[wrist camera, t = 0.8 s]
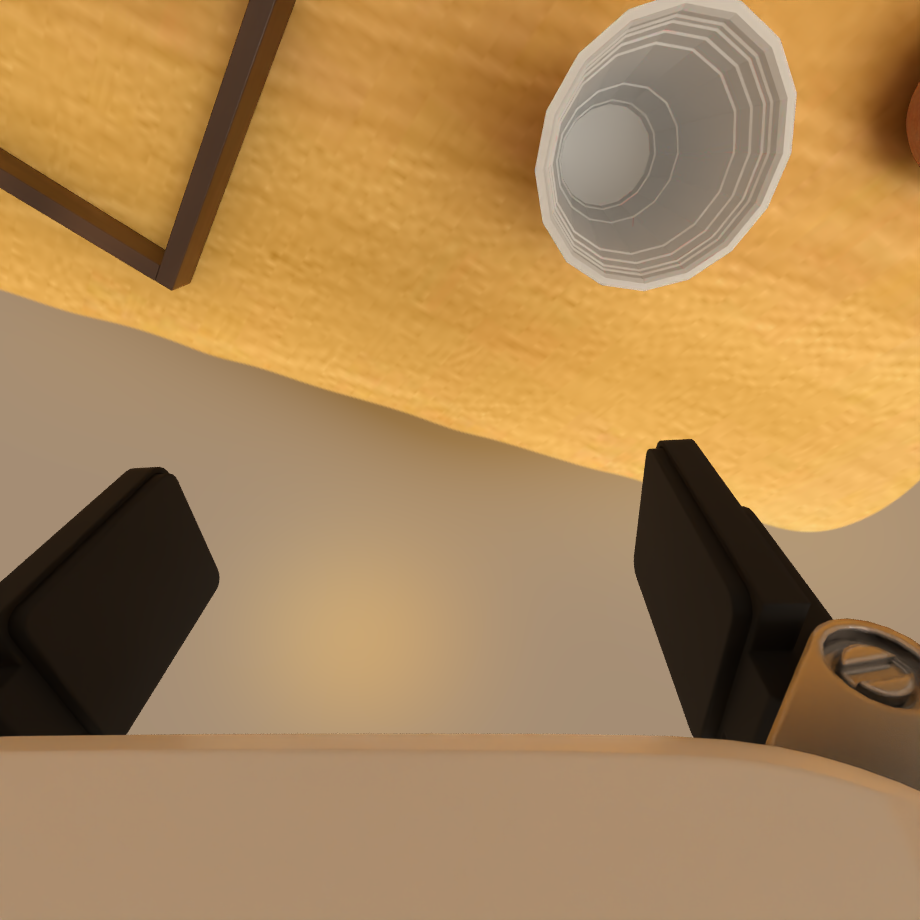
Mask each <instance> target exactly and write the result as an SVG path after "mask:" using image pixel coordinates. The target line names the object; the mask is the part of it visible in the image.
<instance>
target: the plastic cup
mask: <svg viewBox="0 0 920 920" xmlns="http://www.w3.org/2000/svg"><path fill="white" fill-rule="evenodd" d="M796 96H797V93H796V89H795V86H794V83H793V79H792V76H791V73H790V69H789V66H788V63H787V60H786V56H785V53H784V50H783V46H782V43H781V40H780V38H779V37H778V36H777V35H776V34H775V33H774V32H773V31H772V30H771V29H770V28H769V27H768V26H767V25H766V24H765V23H764V22H763V21H761V20H760V19H759V18H758V17H757V16H756V15H755V14H754V13H753V12H752V11H751V10H750V9H749V8H748V7H747V6H746V5H745V4H744V3H743V2H742V1H739V0H656V1H652V2H649V3H646V4H643V5H640V6H637V7H634V8H631V9H628V10H627V11H626V12H625V13H624V14H623V15H622V16H620V17H619V18H618V19H617V20H616V21H615V22H614V23H612V24H611V25H610V26H609V27H608V28H607V29H606V30H605V31H603V32H602V33H601V34H600V35H599V36H598V37H597V38H595V39H594V40H593V41H592V42H591V43H590V44H589V45H587V46H586V47H585V48H584V49H583V50H582V51H581V52H579V53H578V55H577V57H576V59H575V61H574V62H573V64H572V66H571V68H570V70H569V71H568V73H567V75H566V77H565V78H564V80H563V82H562V84H561V86H560V87H559V89H558V91H557V93H556V94H555V96H554V98H553V100H552V102H551V103H550V105H549V107H548V109H547V110H546V115H545V120H544V125H543V130H542V136H541V141H540V146H539V151H538V156H537V161H536V167H535V175H536V182H537V189H538V195H539V202H540V208H541V215H542V221H543V224H544V226H545V227H546V229H547V231H548V232H549V234H550V236H551V237H552V239H553V240H554V242H555V244H556V245H557V247H558V249H559V250H560V252H561V254H562V255H563V257H564V259H565V260H566V262H567V263H569V264H570V265H572V266H573V267H575V268H577V269H578V270H580V271H581V272H583V273H584V274H586V275H587V276H589V277H590V278H592V279H593V280H595V281H596V282H598V283H599V284H601V285H605V286H612V287H619V288H626V289H633V290H640V291H646V290H650V289H654V288H658V287H661V286H665V285H669V284H673V283H677V282H681V281H685V280H689V279H690V278H692V277H693V276H695V275H696V274H698V273H699V272H701V271H702V270H704V269H705V268H707V267H708V266H710V265H711V264H713V263H714V262H716V261H717V260H719V259H720V258H722V257H723V256H725V255H727V254H728V253H730V252H731V251H732V250H733V249H734V247H735V246H736V245H737V244H738V243H739V241H740V240H741V239H742V238H743V237H744V235H745V234H746V233H747V232H748V231H749V229H750V228H751V227H752V226H753V225H754V223H755V222H756V221H757V220H758V219H759V217H760V216H761V215H762V214H763V213H764V211H765V210H766V209H767V208H768V205H769V203H770V201H771V198H772V196H773V194H774V192H775V189H776V187H777V185H778V182H779V180H780V178H781V175H782V173H783V171H784V169H785V166H786V164H787V162H788V159H789V157H790V155H791V149H792V139H793V128H794V118H795V107H796Z"/></svg>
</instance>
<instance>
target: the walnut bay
mask: <svg viewBox="0 0 920 920" xmlns="http://www.w3.org/2000/svg"><path fill="white" fill-rule="evenodd" d="M295 1H296V0H249V3H248V6H247V9H246V12H245V15H244V18H243V21H242V24H241V27H240V30H239V33H238V36H237V39H236V42H235V45H234V48H233V51H232V54H231V57H230V60H229V63H228V66H227V69H226V72H225V75H224V78H223V81H222V84H221V87H220V90H219V93H218V96H217V98H216V101H215V104H214V107H213V110H212V113H211V116H210V119H209V122H208V125H207V128H206V131H205V134H204V137H203V140H202V143H201V146H200V149H199V152H198V155H197V158H196V161H195V164H194V167H193V170H192V173H191V176H190V179H189V182H188V185H187V188H186V191H185V194H184V197H183V200H182V203H181V206H180V208H179V211H178V214H177V217H176V220H175V223H174V226H173V229H172V232H171V235H170V238H169V241H168V244H167V247H166V250H164V249H162V248H161V247H159V246H157V245H156V244H154V243H152V242H151V241H149V240H148V239H146V238H144V237H143V236H141V235H140V234H138V233H136V232H135V231H133V230H131V229H130V228H128V227H127V226H125V225H123V224H122V223H120V222H119V221H117V220H115V219H114V218H112V217H111V216H109V215H107V214H106V213H104V212H102V211H101V210H99V209H98V208H96V207H94V206H93V205H91V204H90V203H88V202H86V201H85V200H83V199H81V198H80V197H78V196H77V195H75V194H73V193H72V192H70V191H69V190H67V189H65V188H64V187H62V186H61V185H59V184H57V183H56V182H54V181H52V180H51V179H49V178H48V177H46V176H44V175H43V174H41V173H40V172H38V171H36V170H35V169H33V168H31V167H30V166H28V165H27V164H25V163H23V162H22V161H20V160H19V159H17V158H15V157H14V156H12V155H11V154H9V153H7V152H6V151H4V150H2V149H1V148H0V188H1V189H3V190H5V191H6V192H8V193H10V194H11V195H13V196H15V197H16V198H18V199H20V200H21V201H23V202H25V203H26V204H28V205H30V206H31V207H33V208H35V209H36V210H38V211H40V212H41V213H43V214H45V215H46V216H48V217H50V218H51V219H53V220H55V221H56V222H58V223H60V224H61V225H63V226H65V227H66V228H68V229H70V230H71V231H73V232H75V233H76V234H78V235H80V236H81V237H83V238H85V239H86V240H88V241H90V242H91V243H93V244H95V245H96V246H98V247H100V248H101V249H103V250H105V251H106V252H108V253H110V254H111V255H113V256H115V257H116V258H118V259H120V260H121V261H123V262H125V263H126V264H128V265H130V266H131V267H133V268H135V269H136V270H138V271H140V272H141V273H143V274H144V275H146V276H148V277H149V278H151V279H153V280H155V281H156V282H158V283H160V284H161V285H163V286H165V287H166V288H168V289H170V290H175V289H177V288H179V287H182V286H184V285H186V284H189V283H190V282H191V279H192V276H193V274H194V271H195V268H196V266H197V263H198V260H199V258H200V255H201V252H202V250H203V247H204V244H205V242H206V239H207V236H208V234H209V231H210V228H211V225H212V223H213V220H214V217H215V215H216V212H217V209H218V207H219V204H220V201H221V199H222V196H223V193H224V191H225V188H226V185H227V183H228V180H229V177H230V175H231V172H232V169H233V167H234V164H235V161H236V159H237V156H238V153H239V151H240V148H241V145H242V142H243V140H244V137H245V134H246V132H247V129H248V126H249V124H250V121H251V118H252V116H253V113H254V110H255V108H256V105H257V102H258V100H259V97H260V94H261V92H262V89H263V86H264V84H265V81H266V78H267V76H268V73H269V70H270V68H271V65H272V62H273V59H274V57H275V54H276V51H277V49H278V46H279V43H280V41H281V38H282V35H283V33H284V30H285V27H286V25H287V22H288V19H289V17H290V14H291V11H292V9H293V6H294V3H295Z"/></svg>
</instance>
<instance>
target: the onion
mask: <svg viewBox="0 0 920 920" xmlns="http://www.w3.org/2000/svg"><path fill="white" fill-rule="evenodd" d="M906 130H907V137H908V142H909V146H910V149H911V152H912V154H913V157H914V159H915V160H916V162H917V163H918V165H919V167H920V81H919V83H918V85H917V87H916V89H915V91H914V93H913V95H912V98H911V101H910V104H909V108H908V112H907V117H906Z"/></svg>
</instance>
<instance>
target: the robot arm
mask: <svg viewBox="0 0 920 920" xmlns="http://www.w3.org/2000/svg"><path fill="white" fill-rule="evenodd" d="M634 568H635V574H636V577H637V580H638V583H639V586H640V589H641V591H642V594H643V597H644V600H645V603H646V606H647V609H648V611H649V614H650V617H651V620H652V623H653V625H654V628H655V631H656V634H657V637H658V640H659V643H660V646H661V648H662V651H663V654H664V657H665V660H666V663H667V666H668V668H669V671H670V674H671V677H672V680H673V683H674V685H675V688H676V691H677V694H678V697H679V700H680V702H681V705H682V708H683V711H684V714H685V717H686V720H687V722H688V725H689V728H690V731H691V733H692V735H693V737H694V738H691V737H675V736H674V737H673V736H644V735H588V734H587V735H586V734H585V735H584V734H186V735H185V734H182V735H181V734H178V735H177V734H175V735H174V734H173V735H126V734H127V733H128V731H129V730H130V728H131V726H132V725H133V723H134V721H135V720H136V718H137V717H138V715H139V713H140V712H141V710H142V709H143V707H144V705H145V704H146V702H147V701H148V699H149V697H150V696H151V694H152V692H153V691H154V689H155V688H156V686H157V684H158V683H159V681H160V680H161V678H162V676H163V675H164V673H165V672H166V670H167V668H168V667H169V665H170V664H171V662H172V660H173V659H174V657H175V655H176V654H177V652H178V650H179V649H180V647H181V646H182V644H183V643H184V641H185V639H186V638H187V636H188V634H189V633H190V631H191V630H192V628H193V627H194V625H195V623H196V622H197V620H198V618H199V617H200V615H201V614H202V612H203V610H204V609H205V607H206V606H207V604H208V602H209V601H210V599H211V597H212V596H213V594H214V593H215V591H216V589H217V587H218V584H219V572H218V569H217V567H216V564H215V562H214V560H213V558H212V555H211V553H210V551H209V549H208V547H207V544H206V542H205V540H204V538H203V536H202V533H201V531H200V529H199V527H198V525H197V522H196V521H195V518H194V516H193V514H192V511H191V509H190V507H189V505H188V502H187V500H186V498H185V496H184V493H183V491H182V489H181V487H180V485H179V482H178V480H177V479H176V477H175V476H174V475H173V474H169V473H168V471H167V470H165V469H164V468H161V467H150V468H134V469H129V470H128V471H126V472H125V473H124V474H123V475H121V477H119V478H118V479H117V480H116V481H115V482H114V483H112V484H111V485H110V486H109V487H108V488H107V489H106V490H104V491H103V492H102V493H101V494H100V495H99V496H98V497H97V498H95V499H94V500H93V501H92V502H91V503H90V504H89V505H87V506H86V507H85V508H84V509H83V510H82V511H81V512H79V513H78V514H77V515H76V516H75V517H74V518H73V519H72V520H70V521H69V522H68V523H67V524H66V525H65V526H64V527H62V528H61V529H60V530H59V531H58V532H57V533H56V534H54V535H53V536H52V537H51V538H50V539H49V540H48V541H47V542H46V543H44V544H43V545H42V546H41V547H40V548H39V549H37V550H36V551H35V552H34V553H33V554H32V555H31V556H29V557H28V558H27V559H26V560H25V561H24V562H23V563H22V564H20V565H19V566H18V567H17V568H16V569H15V570H14V571H12V573H10V574H9V575H8V576H7V577H6V578H4V579H3V580H2V581H1V582H0V920H920V645H919V644H918V643H916V642H915V641H914V640H912V639H911V638H909V637H907V636H905V635H902V634H900V633H898V632H896V631H894V630H892V629H890V628H888V627H885V626H881V625H878V624H875V623H872V622H869V621H862V620H854V619H836V620H833V619H832V617H831V616H830V615H829V613H828V612H827V611H826V609H825V608H824V607H823V605H822V604H821V603H820V601H819V600H818V598H817V597H816V596H815V594H814V593H813V592H812V590H811V589H810V588H809V586H808V585H807V584H806V583H805V581H804V580H803V578H802V577H801V576H800V574H799V573H798V572H797V570H796V569H795V567H794V566H793V565H792V563H791V562H790V561H789V559H788V558H787V557H786V555H785V554H784V553H783V551H782V550H781V549H780V547H779V546H778V545H777V543H776V542H775V540H774V539H773V538H772V536H771V535H770V534H769V532H768V531H767V530H766V528H765V527H764V526H763V524H762V523H761V522H760V520H759V519H758V518H757V516H756V515H755V514H754V513H753V512H752V511H751V510H750V509H749V508H747V507H744V506H741V505H740V504H739V502H738V501H737V500H736V498H735V497H734V495H733V494H732V493H731V491H730V490H729V488H728V487H727V486H726V484H725V483H724V482H723V480H722V479H721V477H720V476H719V475H718V473H717V472H716V470H715V469H714V468H713V466H712V465H711V463H710V462H709V461H708V459H707V458H706V456H705V455H704V454H703V452H702V451H701V450H700V448H699V447H698V445H697V444H696V443H695V441H694V440H692V439H683V440H664V441H659V442H658V444H657V447H656V449H649V450H648V451H647V454H646V460H645V468H644V477H643V485H642V494H641V502H640V510H639V519H638V527H637V537H636V545H635V552H634Z"/></svg>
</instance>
